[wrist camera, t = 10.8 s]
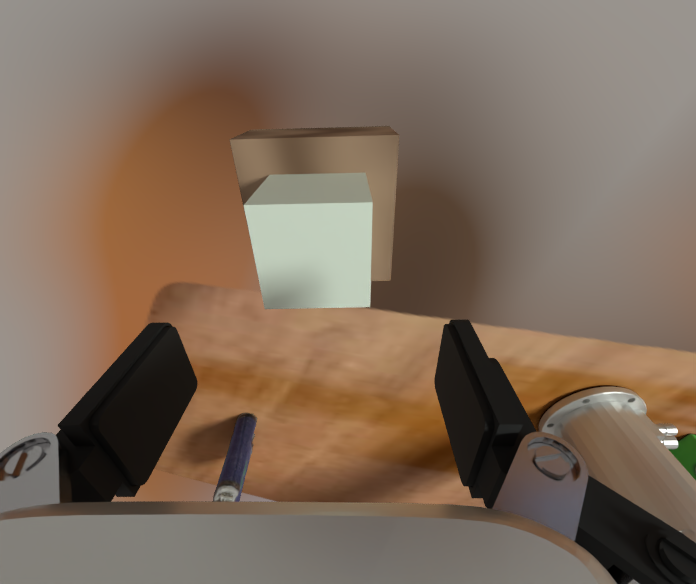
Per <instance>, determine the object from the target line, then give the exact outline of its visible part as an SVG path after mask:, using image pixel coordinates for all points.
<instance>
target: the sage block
mask: <svg viewBox="0 0 696 584" xmlns="http://www.w3.org/2000/svg"><path fill="white" fill-rule="evenodd" d="M372 209H373V202H372V198H371V193H370V189H369V185H368V181H367V177H366V173H329V174H284V175H269V176H268V177H267V178H266V180H265V181H264V182H263V183H262V184H261V185H260V187H259V188H258V189H257V190H256V191H255V192H254V194H253V195H252V196H251V197H250V198H249V199H248V201H247V202H246V203H245V204H244V210H245V215H246V219H247V224H248V229H249V234H250V239H251V244H252V249H253V253H254V258H255V263H256V268H257V273H258V278H259V283H260V288H261V293H262V297H263V302H264V307H265V309H296V308H344V307H370V291H371V289H370V288H371V250H372Z"/></svg>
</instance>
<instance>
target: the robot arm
mask: <svg viewBox="0 0 696 584" xmlns="http://www.w3.org/2000/svg"><path fill="white" fill-rule="evenodd" d="M196 388H197V379H196V376H195V374H194V371H193V369H192V366H191V364H190V361H189V359H188V356H187V354H186V351H185V349H184V346H183V344H182V341H181V339H180V336H179V334H178V331H177V329H176V328H175V327H172V325H171V324H170V323H150V324H148V325H147V326H146V327H145V329H144V330H143V331H142V332H141V333H140V334H139V335H138V337H136V339H135V340H134V341H133V342H132V343H131V344H130V345H129V346H128V347H127V349H126V350H125V351H124V352H123V353H122V354H121V355H120V356H119V357H118V359H117V360H116V361H115V362H114V363H113V364H112V365H111V366H110V367H109V369H108V370H107V371H106V372H105V373H104V374H103V375H102V376H101V378H100V379H99V380H98V381H97V382H96V383H95V384H94V385H93V386H92V388H91V389H90V390H89V391H88V392H87V393H86V394H85V395H84V397H82V399H81V400H80V401H79V402H78V403H77V404H76V405H75V406H74V408H73V409H72V410H71V411H70V412H69V413H68V414H67V415H66V417H65V418H64V419H63V420H62V421H61V422H60V423H59V424H58V427H59V428H60V429H61V430H60V431H59V432H58V433H57V434H56V435H54V434H52V433H47V432H43V433H38V434H33V435H31V436H28V437H25V438H23V439H21V440H19V441H18V442H16V443H14V444H12V445H11V446H9V447H8V448H6V449H5V450H4V451H2V452H1V453H0V584H696V480H695V479H694V478H693V477H692V476H691V475H690V473H689V472H688V471H687V470H686V469H685V468H684V467H683V466H682V464H681V463H680V462H679V461H678V460H677V459H676V458H675V457H674V455H673V454H672V453H671V452H670V451H669V450H668V449H677V448H678V445H679V444H678V441H677V439H676V438H675V435H677V433H678V431H677V428H676V427H675V426H674V425H673V424H670V423H664V424H654V423H653V422H652V421H651V420H650V419H649V418H648V417H647V416H646V411H647V409H646V404H645V403H644V401H643V400H642V399H641V398H640V397H639V396H638V395H637V394H636V393H635V392H633V391H631V390H629V389H626V388H622V387H613V386H611V387H597V388H591V389H587V390H583V391H580V392H577V393H575V394H572V395H570V396H568V397H566V398H564V399H562V400H560V401H559V402H557V403H556V404H554V405H553V406H552V407H551V408H549V409H548V410H547V411H546V412H545V414H544V415H543V416H542V418H541V420H540V422H539V426H538V427H539V432H536V430H535V428H534V426H533V424H532V422H531V421H530V419H529V417H528V415H527V413H526V411H525V410H524V408H523V406H522V404H521V402H520V400H519V399H518V397H517V395H516V393H515V391H514V389H513V388H512V386H511V384H510V382H509V380H508V378H507V377H506V375H505V373H504V371H503V369H502V367H501V366H500V364H499V362H498V361H497V360H496V359H495V358H488V356H487V354H486V352H485V350H484V348H483V346H482V344H481V342H480V340H479V338H478V336H477V334H476V332H475V331H474V329H473V327H472V325H471V323H470V321H469V320H450V323H449V324H445V325H444V329H443V334H442V340H441V346H440V351H439V357H438V363H437V368H436V374H435V389H436V393H437V396H438V400H439V403H440V407H441V411H442V414H443V418H444V421H445V425H446V429H447V432H448V436H449V439H450V443H451V446H452V450H453V454H454V457H455V461H456V464H457V468H458V471H459V475H460V479H461V482H462V484H463V486H469V490H470V493H471V497H472V498H483V500H484V504H485V506H486V507H487V508H482V507H474V506H462V505H449V504H414V503H353V502H111V501H112V499H113V497H114V496H115V495H116V496H117V497H135V495H136V493H137V491H138V489H139V488H140V486H141V485H143V484H145V483H146V482H147V480H148V479H149V477H150V475H151V473H152V471H153V469H154V467H155V466H156V464H157V462H158V460H159V458H160V456H161V454H162V452H163V451H164V449H165V447H166V445H167V443H168V441H169V439H170V438H171V436H172V434H173V432H174V430H175V428H176V426H177V424H178V423H179V421H180V419H181V417H182V415H183V413H184V411H185V410H186V408H187V406H188V404H189V402H190V400H191V398H192V396H193V395H194V393H195V391H196Z"/></svg>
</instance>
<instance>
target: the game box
mask: <svg viewBox="0 0 696 584" xmlns="http://www.w3.org/2000/svg"><path fill="white" fill-rule="evenodd" d="M678 444H679V445H678V448H677V449H668V450H669V451H670V452H671V453H672V454H673V455H674V457H675V458H676V459H677V460H678V461H679V462H680V463H681V464H682V466H683V467H684V468H685V469H686V470H687V471H688V472H689V473H690V475H691V476H692V477H693V478H694V479H695V480H696V435H694V434H689V435H687V436H685V437H684V438H682V439H681V440H679V441H678Z"/></svg>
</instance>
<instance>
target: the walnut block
mask: <svg viewBox="0 0 696 584" xmlns="http://www.w3.org/2000/svg"><path fill="white" fill-rule="evenodd" d="M230 144H231V149H232V154H233V158H234V163H235V168H236V173H237V177H238V181H239V187H240V192H241V196H242V201H243V206H244V204H245V203H246V202H247V201H248V199H249V198H250V197H251V196H252V195H253V194H254V192H255V191H256V190H257V189H258V188H259V187H260V185H261V184H262V183H263V182H264V181H265V180H266V178H267V177H268V176H269V175H284V174H329V173H366V177H367V181H368V185H369V189H370V193H371V198H372V202H373V209H372V250H371V281H388V280H391V264H392V248H393V231H394V214H395V197H396V180H397V163H398V146H399V134H398V133H396V132H395V131H394V130H393V129H392V128H391V127H390V126H375V127H374V126H372V127H338V128H301V129H266V130H250V131H247V132H245V133H243V134H241V135H239V136H236V137H234V138H232V139H230ZM244 211H245V210H244Z"/></svg>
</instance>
